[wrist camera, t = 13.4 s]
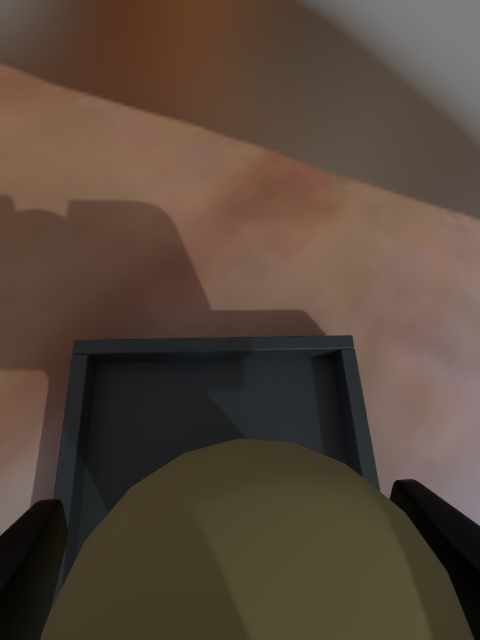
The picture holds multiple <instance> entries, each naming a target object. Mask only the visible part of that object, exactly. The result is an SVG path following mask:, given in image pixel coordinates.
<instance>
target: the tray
mask: <svg viewBox="0 0 480 640" xmlns="http://www.w3.org/2000/svg"><path fill="white" fill-rule="evenodd" d="M234 439H253V440H268V441H283V442H293V443H296V444H298V445H301V446H303V447H306V448H308V449H311V450H313V451H315V452H318V453H320V454H323V455H325V456H328V457H330V458H332V459H335V460H337V461H340V462H342V463H345V464H346V465H347V466H349V467H350V468H351V469H353V470H354V471H355V472H357V473H358V474H359V475H360V476H361V477H363V478H364V479H365V480H366V481H367V482H369V483H370V484H371V485H372V486H374V487H375V488H376V489H377V490H378V491H380V488H379V482H378V477H377V471H376V465H375V460H374V454H373V449H372V443H371V437H370V432H369V426H368V421H367V415H366V409H365V404H364V398H363V393H362V387H361V381H360V376H359V370H358V365H357V359H356V353H355V349H354V343H353V338H352V336H351V335H345V336H287V337H230V338H172V339H114V340H75V341H74V348H73V355H72V361H71V369H70V377H69V384H68V392H67V399H66V407H65V415H64V422H63V430H62V437H61V445H60V453H59V460H58V468H57V476H56V483H55V491H54V498H53V499H59V500H61V501H62V503H63V507H64V511H65V516H66V521H67V526H68V539H67V544H66V548H65V552H64V556H63V560H62V565H61V569H60V573H59V577H58V581H57V585H56V590H55V594H54V598H53V602H52V606H51V609H52V607H53V605H54V603H55V601H56V599H57V597H58V595H59V593H60V591H61V589H62V587H63V585H64V583H65V581H66V579H67V577H68V574H69V572H70V570H71V568H72V566H73V564H74V562H75V560H76V558H77V556H78V554H79V552H80V550H81V548H82V546H83V544H84V541H85V540H86V539H87V538H88V537H89V535H90V534H91V533H92V532H93V531H94V530H95V528H96V527H97V526H98V525H99V524H100V523H101V521H102V520H103V519H104V518H105V517H106V516H107V515H108V513H109V512H110V511H111V510H112V509H113V508H114V506H115V505H116V504H117V503H118V502H119V501H120V499H121V498H122V497H123V496H124V495H125V494H126V492H127V491H128V490H129V489H130V488H131V487H132V486H134V485H135V484H137V483H138V482H140V481H141V480H143V479H144V478H146V477H148V476H149V475H151V474H152V473H154V472H155V471H157V470H158V469H160V468H161V467H163V466H164V465H166V464H168V463H169V462H171V461H172V460H174V459H175V458H177V457H178V456H180V455H181V454H183V453H186V452H190V451H194V450H197V449H201V448H205V447H208V446H212V445H216V444H220V443H223V442H227V441H231V440H234ZM50 612H51V610H50Z"/></svg>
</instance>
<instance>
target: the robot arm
mask: <svg viewBox="0 0 480 640" xmlns="http://www.w3.org/2000/svg"><path fill="white" fill-rule="evenodd" d="M390 500H391V501H392V502H393V503H394V504H395V505H397V506H398V507H399V508H400V509H402V510H403V511H404V512H405V513H406V514H407V516H408V517H409V519H410V520H411V521H412V523H413V524H414V526H415V527H416V528H417V530H418V531H419V533H420V534H421V535H422V537H423V538H424V540H425V541H426V542H427V544H428V545H429V547H430V548H431V550H432V551H433V552H434V554H435V555H436V557H437V558H438V559H439V561H440V562H441V564H442V565H443V566H444V568H445V569H446V571H447V572H448V575H449V577H450V580H451V582H452V585H453V587H454V590H455V592H456V595H457V597H458V600H459V602H460V605H461V607H462V610H463V612H464V615H465V617H466V620H467V622H468V625H469V627H470V630H471V632H472V635H473V637H474V640H480V526H479V525H478V524H476V523H475V522H474V521H472V520H471V519H469V518H468V517H467V516H465V515H464V514H462V513H461V512H460V511H458V510H457V509H456V508H454V507H453V506H451V505H450V504H449V503H447V502H446V501H444V500H443V499H442V498H440V497H439V496H438V495H436V494H435V493H433V492H432V491H431V490H429V489H428V488H426V487H425V486H424V485H422V484H421V483H419V482H418V481H416V480H414V479H404V480H396V481H395V482H394V484H393V487H392V492H391V496H390ZM67 539H68V526H67V521H66V516H65V511H64V507H63V503H62V501H61V500H59V499H49V500H40V501H38V502H36V503H35V504H34V505H33V506H32V507H31V508H30V509H28V510H27V511H26V512H25V513H24V514H23V515H22V516H21V517H20V518H19V519H18V520H17V521H16V522H15V523H14V524H12V525H11V526H10V527H9V528H8V529H7V530H6V531H5V532H4V533H3V534H2V535H1V536H0V640H40V639H41V634H42V632H43V629H44V626H45V624H46V621H47V619H48V616H49V614H50V610H51V606H52V602H53V598H54V594H55V590H56V585H57V581H58V577H59V573H60V569H61V565H62V560H63V556H64V552H65V548H66V544H67Z"/></svg>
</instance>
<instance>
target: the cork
mask: <svg viewBox="0 0 480 640" xmlns="http://www.w3.org/2000/svg"><path fill="white" fill-rule="evenodd" d="M40 640H474V637H473V635H472V632H471V630H470V627H469V625H468V622H467V620H466V617H465V615H464V612H463V610H462V607H461V605H460V602H459V600H458V597H457V595H456V592H455V590H454V587H453V585H452V582H451V580H450V577H449V575H448V572H447V571H446V569H445V568H444V566H443V565H442V564H441V562H440V561H439V559H438V558H437V557H436V555H435V554H434V552H433V551H432V550H431V548H430V547H429V545H428V544H427V542H426V541H425V540H424V538H423V537H422V535H421V534H420V533H419V531H418V530H417V528H416V527H415V526H414V524H413V523H412V521H411V520H410V519H409V517H408V516H407V514H406V513H405V512H404V511H403V510H402V509H400V508H399V507H398V506H397V505H395V504H394V503H393V502H392V501H391V500H389V499H388V498H387V497H386V496H385V495H383V494H382V493H381V492H380V491H378V490H377V489H376V488H375V487H374V486H372V485H371V484H370V483H369V482H367V481H366V480H365V479H364V478H363V477H361V476H360V475H359V474H358V473H357V472H355V471H354V470H353V469H351V468H350V467H349V466H347V465H346V464H345V463H342V462H340V461H337V460H335V459H332V458H330V457H328V456H325V455H323V454H320V453H318V452H315V451H313V450H311V449H308V448H306V447H303V446H301V445H298V444H296V443H293V442H283V441H268V440H253V439H234V440H231V441H227V442H223V443H220V444H216V445H212V446H208V447H205V448H201V449H197V450H194V451H190V452H186V453H183V454H181V455H180V456H178V457H177V458H175V459H174V460H172V461H171V462H169V463H168V464H166V465H164V466H163V467H161V468H160V469H158V470H157V471H155V472H154V473H152V474H151V475H149V476H148V477H146V478H144V479H143V480H141V481H140V482H138V483H137V484H135V485H134V486H132V487H131V488H130V489H129V490H128V491H127V492H126V494H125V495H124V496H123V497H122V498H121V499H120V501H119V502H118V503H117V504H116V505H115V506H114V508H113V509H112V510H111V511H110V512H109V513H108V515H107V516H106V517H105V518H104V519H103V520H102V521H101V523H100V524H99V525H98V526H97V527H96V528H95V530H94V531H93V532H92V533H91V534H90V535H89V537H88V538H87V539H86V540H85V541H84V544H83V546H82V548H81V550H80V552H79V554H78V556H77V558H76V560H75V562H74V564H73V566H72V568H71V570H70V572H69V574H68V577H67V579H66V581H65V583H64V585H63V587H62V589H61V591H60V593H59V595H58V597H57V599H56V601H55V603H54V605H53V607H52V609H51V612H50V614H49V616H48V619H47V621H46V624H45V626H44V629H43V632H42V634H41V639H40Z"/></svg>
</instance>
